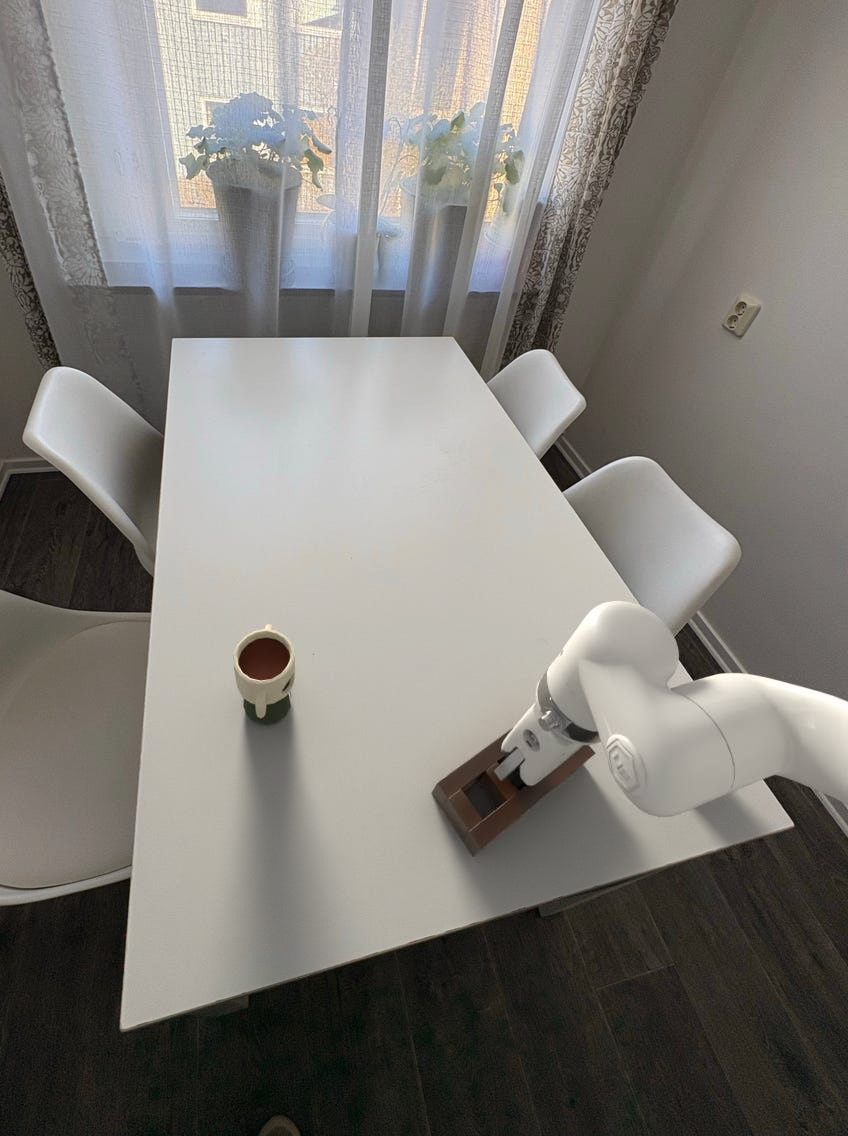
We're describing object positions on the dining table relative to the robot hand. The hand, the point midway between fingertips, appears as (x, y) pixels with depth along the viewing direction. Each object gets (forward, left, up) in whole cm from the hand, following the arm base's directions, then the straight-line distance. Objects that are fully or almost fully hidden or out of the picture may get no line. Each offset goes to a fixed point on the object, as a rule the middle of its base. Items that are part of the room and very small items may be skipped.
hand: (521, 764), depth 64 cm
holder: (0, 0, -5) cm, 5 cm away
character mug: (+24, +22, -5) cm, 33 cm away
